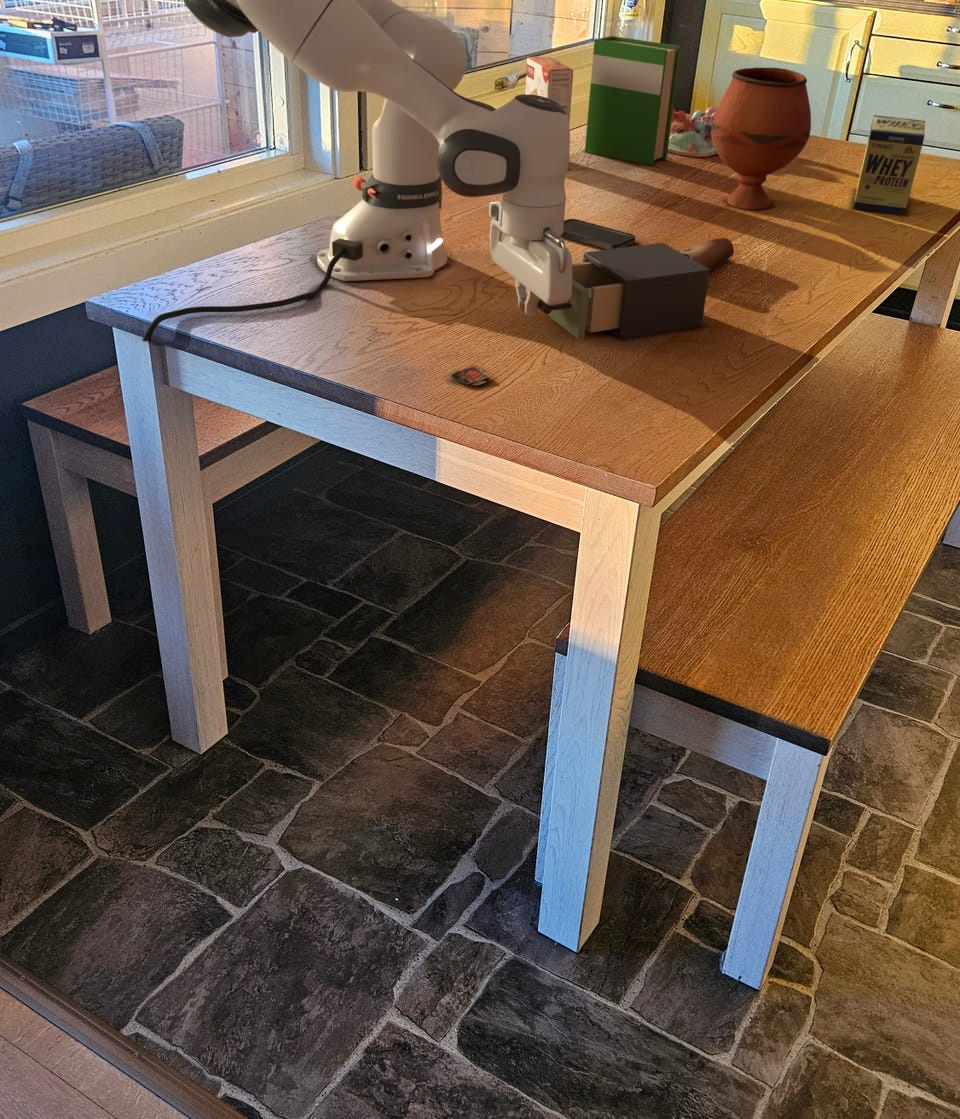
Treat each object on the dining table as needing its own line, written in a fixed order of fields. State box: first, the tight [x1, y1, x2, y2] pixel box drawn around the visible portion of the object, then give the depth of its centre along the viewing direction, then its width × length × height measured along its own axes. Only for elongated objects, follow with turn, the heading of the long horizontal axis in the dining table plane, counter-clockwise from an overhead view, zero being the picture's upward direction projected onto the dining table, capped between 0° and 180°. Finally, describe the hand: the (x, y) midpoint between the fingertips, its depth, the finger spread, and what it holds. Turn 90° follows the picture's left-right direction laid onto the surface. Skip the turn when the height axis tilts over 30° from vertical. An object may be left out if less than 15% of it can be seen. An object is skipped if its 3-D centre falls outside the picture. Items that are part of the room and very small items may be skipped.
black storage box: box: [582, 242, 711, 340], centre depth 168 cm, size 15×13×9 cm
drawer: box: [537, 262, 624, 339], centre depth 165 cm, size 18×12×7 cm, turn 114°
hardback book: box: [584, 35, 682, 166], centre depth 246 cm, size 18×7×24 cm, turn 54°
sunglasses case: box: [678, 237, 735, 272], centre depth 189 cm, size 18×7×7 cm
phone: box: [560, 218, 636, 250], centre depth 202 cm, size 8×1×15 cm
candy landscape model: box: [667, 106, 718, 158], centre depth 260 cm, size 25×24×9 cm
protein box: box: [852, 114, 926, 216], centre depth 224 cm, size 10×16×16 cm
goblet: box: [711, 67, 812, 211], centre depth 217 cm, size 19×19×25 cm
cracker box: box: [525, 56, 574, 123], centre depth 239 cm, size 14×6×21 cm, turn 17°
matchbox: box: [450, 366, 491, 387], centre depth 150 cm, size 5×5×1 cm
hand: (527, 311), depth 162 cm, fingers closed
